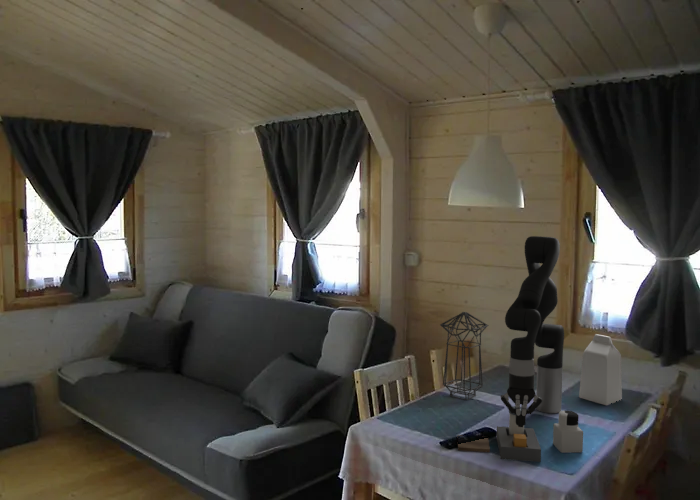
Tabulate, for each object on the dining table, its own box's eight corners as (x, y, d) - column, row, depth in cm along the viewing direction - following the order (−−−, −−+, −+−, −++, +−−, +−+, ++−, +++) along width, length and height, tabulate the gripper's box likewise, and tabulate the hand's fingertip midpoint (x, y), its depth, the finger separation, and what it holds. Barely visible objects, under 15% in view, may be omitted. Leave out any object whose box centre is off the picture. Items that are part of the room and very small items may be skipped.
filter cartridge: (507, 440, 200) (508, 405, 199) (523, 441, 199) (524, 406, 198) (508, 446, 195) (509, 411, 194) (525, 448, 194) (526, 412, 193)
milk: (578, 397, 244) (580, 334, 242) (594, 392, 251) (596, 331, 249) (606, 405, 234) (608, 340, 232) (621, 399, 241) (624, 336, 239)
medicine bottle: (573, 443, 197) (575, 408, 196) (582, 452, 190) (584, 416, 189) (552, 444, 197) (553, 408, 196) (560, 453, 190) (562, 416, 189)
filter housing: (496, 437, 202) (496, 426, 202) (533, 440, 200) (533, 428, 200) (500, 459, 185) (501, 446, 185) (540, 461, 183) (541, 449, 183)
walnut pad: (457, 438, 202) (457, 435, 202) (487, 440, 200) (487, 437, 200) (458, 450, 192) (458, 447, 192) (489, 452, 190) (489, 449, 190)
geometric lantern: (436, 396, 245) (437, 312, 243) (456, 388, 257) (458, 307, 255) (470, 404, 235) (471, 316, 233) (489, 395, 246) (491, 311, 244)
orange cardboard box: (513, 445, 189) (513, 433, 189) (524, 446, 189) (525, 434, 188) (514, 450, 186) (514, 438, 185) (526, 451, 185) (526, 438, 185)
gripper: (541, 369, 188) (540, 423, 189) (498, 367, 190) (497, 420, 191) (545, 376, 180) (544, 432, 182) (500, 374, 182) (499, 429, 184)
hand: (520, 426), depth 186 cm, fingers closed
